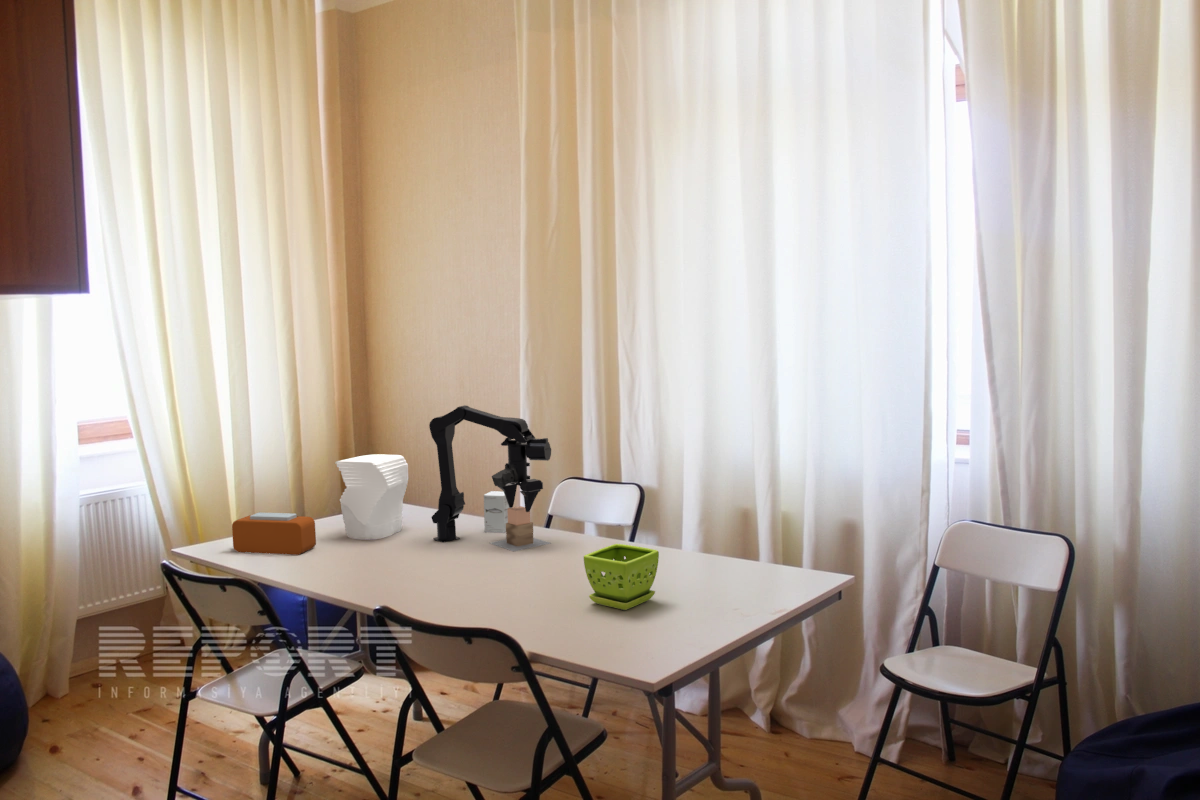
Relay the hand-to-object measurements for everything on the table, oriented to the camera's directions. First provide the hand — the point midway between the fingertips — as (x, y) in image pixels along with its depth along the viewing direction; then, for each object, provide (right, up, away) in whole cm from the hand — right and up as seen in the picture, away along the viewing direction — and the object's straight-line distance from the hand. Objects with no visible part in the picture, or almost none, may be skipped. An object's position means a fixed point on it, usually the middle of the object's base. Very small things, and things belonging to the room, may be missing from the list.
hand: (519, 509), depth 288 cm
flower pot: (+31, -16, -59) cm, 68 cm away
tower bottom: (0, -11, +1) cm, 11 cm away
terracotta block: (0, -4, 0) cm, 4 cm away
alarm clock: (-76, -13, +1) cm, 77 cm away
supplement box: (-8, -9, +20) cm, 24 cm away
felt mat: (0, -11, +1) cm, 11 cm away
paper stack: (-47, -10, +20) cm, 52 cm away
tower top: (0, -7, +1) cm, 7 cm away
